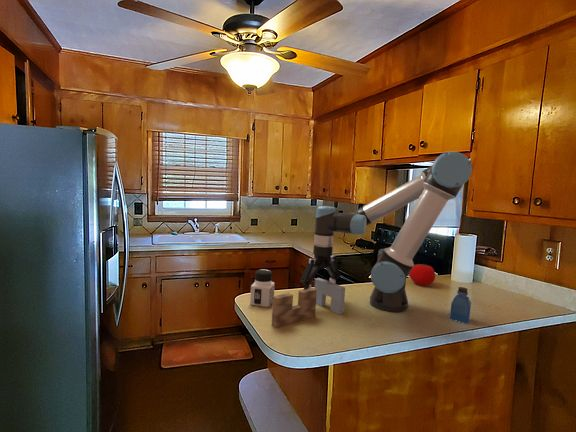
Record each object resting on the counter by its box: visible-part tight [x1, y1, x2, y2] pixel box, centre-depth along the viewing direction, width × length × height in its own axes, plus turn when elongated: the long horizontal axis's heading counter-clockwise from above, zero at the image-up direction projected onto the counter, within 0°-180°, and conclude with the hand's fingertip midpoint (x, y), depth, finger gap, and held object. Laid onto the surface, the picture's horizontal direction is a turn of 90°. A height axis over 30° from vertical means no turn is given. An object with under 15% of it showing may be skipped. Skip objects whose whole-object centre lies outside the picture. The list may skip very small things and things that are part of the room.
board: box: [271, 287, 317, 328], centre depth 118 cm, size 18×2×10 cm, turn 129°
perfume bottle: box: [449, 286, 472, 324], centre depth 127 cm, size 6×6×12 cm
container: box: [249, 268, 275, 308], centre depth 133 cm, size 8×8×13 cm
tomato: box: [408, 263, 436, 287], centre depth 170 cm, size 11×12×10 cm
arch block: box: [313, 277, 346, 315], centre depth 131 cm, size 14×2×10 cm, turn 39°
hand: (319, 297), depth 135 cm, fingers open, 13 cm apart
